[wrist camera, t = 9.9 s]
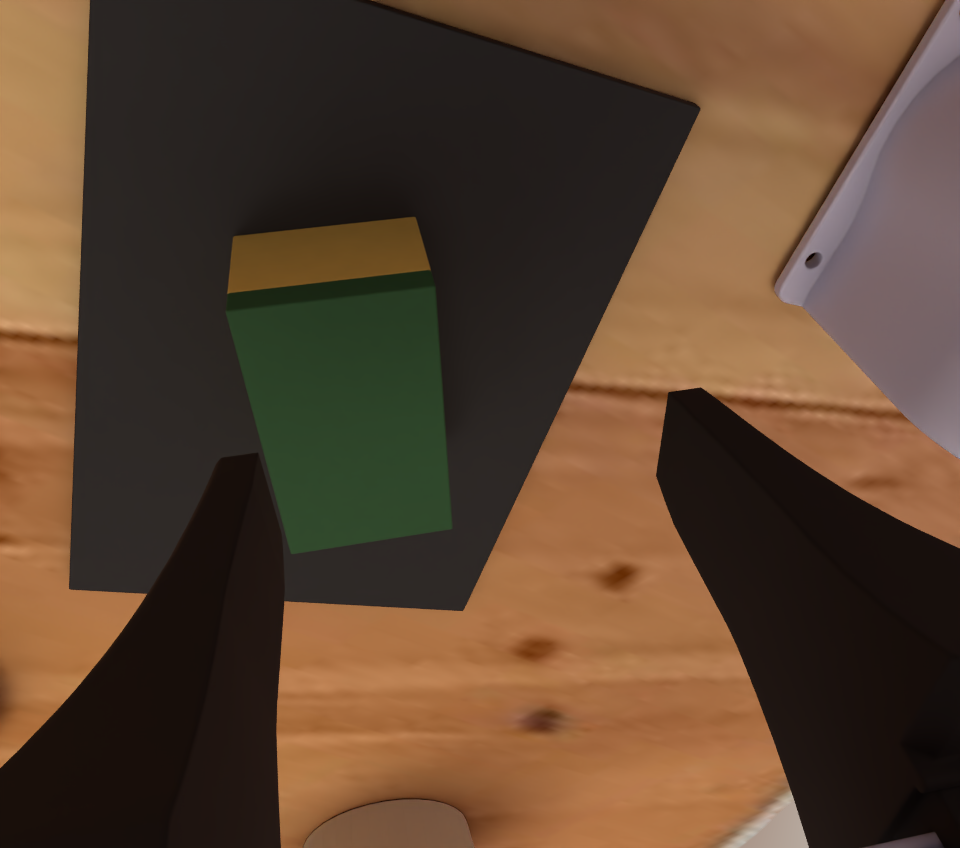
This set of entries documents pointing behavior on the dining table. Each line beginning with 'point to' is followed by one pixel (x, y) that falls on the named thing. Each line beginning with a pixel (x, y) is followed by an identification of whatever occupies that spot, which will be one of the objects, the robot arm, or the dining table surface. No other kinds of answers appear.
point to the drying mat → (326, 202)
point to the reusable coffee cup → (395, 827)
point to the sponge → (344, 379)
